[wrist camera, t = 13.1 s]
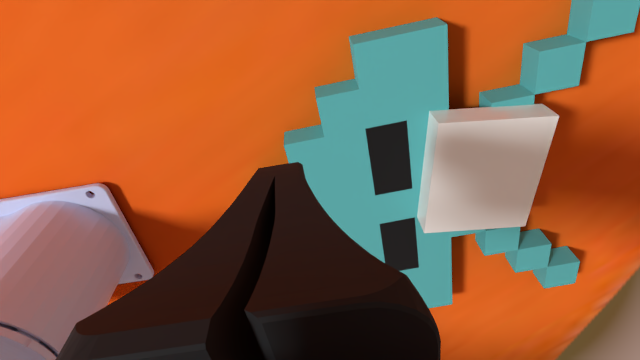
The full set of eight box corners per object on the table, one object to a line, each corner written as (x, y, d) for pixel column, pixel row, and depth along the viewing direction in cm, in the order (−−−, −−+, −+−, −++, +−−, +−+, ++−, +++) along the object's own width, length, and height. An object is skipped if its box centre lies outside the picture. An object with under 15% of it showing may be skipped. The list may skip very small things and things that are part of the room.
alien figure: (612, -24, 19) (223, 60, 21) (645, -19, 18) (216, 74, 19) (557, 261, 30) (304, 305, 31) (575, 283, 28) (305, 329, 30)
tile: (424, 233, 23) (525, 226, 23) (438, 123, 19) (559, 115, 19) (416, 216, 24) (512, 209, 24) (429, 110, 20) (542, 103, 21)
